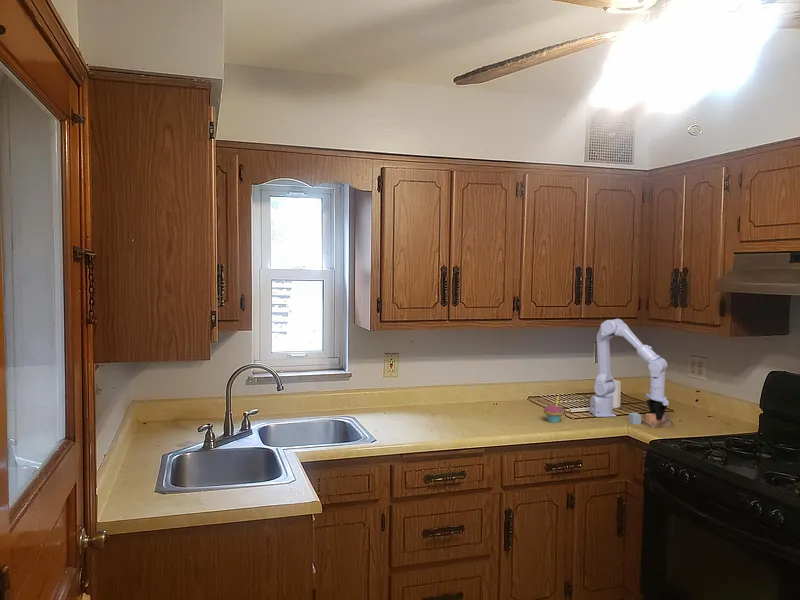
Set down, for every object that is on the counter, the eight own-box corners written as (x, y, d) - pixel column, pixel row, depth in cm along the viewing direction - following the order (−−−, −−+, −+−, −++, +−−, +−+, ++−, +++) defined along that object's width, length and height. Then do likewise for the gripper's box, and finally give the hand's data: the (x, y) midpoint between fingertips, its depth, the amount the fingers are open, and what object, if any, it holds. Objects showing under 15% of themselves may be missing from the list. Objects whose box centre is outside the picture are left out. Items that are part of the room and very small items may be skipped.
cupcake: (563, 419, 261) (564, 392, 260) (563, 424, 253) (564, 397, 252) (543, 418, 263) (544, 391, 262) (543, 423, 255) (543, 395, 254)
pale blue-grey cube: (632, 424, 253) (633, 415, 253) (628, 422, 257) (629, 413, 256) (640, 424, 253) (641, 415, 253) (636, 421, 257) (636, 412, 257)
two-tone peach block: (649, 424, 250) (650, 415, 249) (645, 421, 253) (645, 413, 253) (667, 423, 250) (668, 415, 250) (663, 421, 254) (663, 413, 254)
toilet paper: (597, 407, 282) (598, 382, 282) (598, 402, 292) (598, 378, 291) (620, 409, 279) (620, 383, 278) (620, 404, 289) (620, 379, 288)
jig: (651, 428, 247) (651, 422, 247) (641, 422, 255) (641, 417, 255) (673, 427, 248) (673, 422, 248) (663, 422, 256) (663, 417, 256)
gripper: (675, 390, 244) (675, 422, 245) (657, 383, 258) (656, 413, 259) (659, 390, 243) (658, 423, 244) (641, 383, 258) (640, 414, 258)
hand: (656, 418), depth 252 cm, fingers closed on two-tone peach block, 3 cm apart
